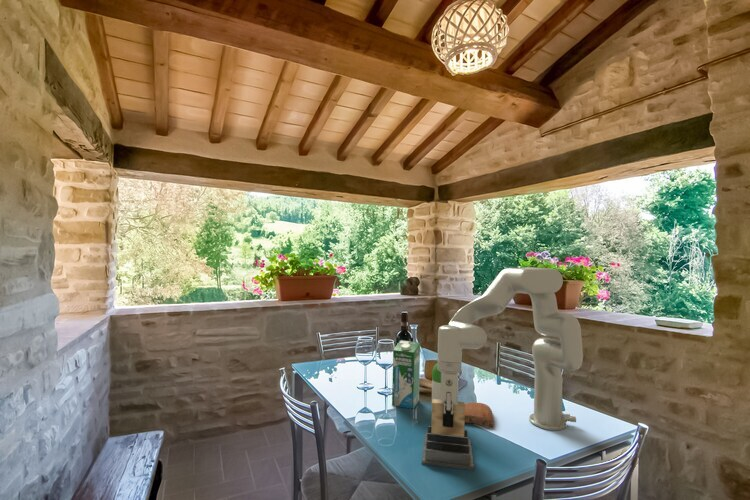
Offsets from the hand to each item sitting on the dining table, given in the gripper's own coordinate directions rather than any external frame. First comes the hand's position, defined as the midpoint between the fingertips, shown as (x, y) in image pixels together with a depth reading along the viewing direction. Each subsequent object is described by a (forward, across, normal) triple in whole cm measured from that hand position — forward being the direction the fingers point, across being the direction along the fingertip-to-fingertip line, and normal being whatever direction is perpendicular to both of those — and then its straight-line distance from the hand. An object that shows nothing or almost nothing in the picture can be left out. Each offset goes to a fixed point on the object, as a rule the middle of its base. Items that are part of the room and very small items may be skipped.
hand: (447, 423), depth 119 cm
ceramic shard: (+10, +29, -10) cm, 32 cm away
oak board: (+3, 0, 0) cm, 3 cm away
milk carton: (+9, +36, +17) cm, 41 cm away
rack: (+9, 0, 0) cm, 9 cm away
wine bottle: (+9, +22, +2) cm, 24 cm away
